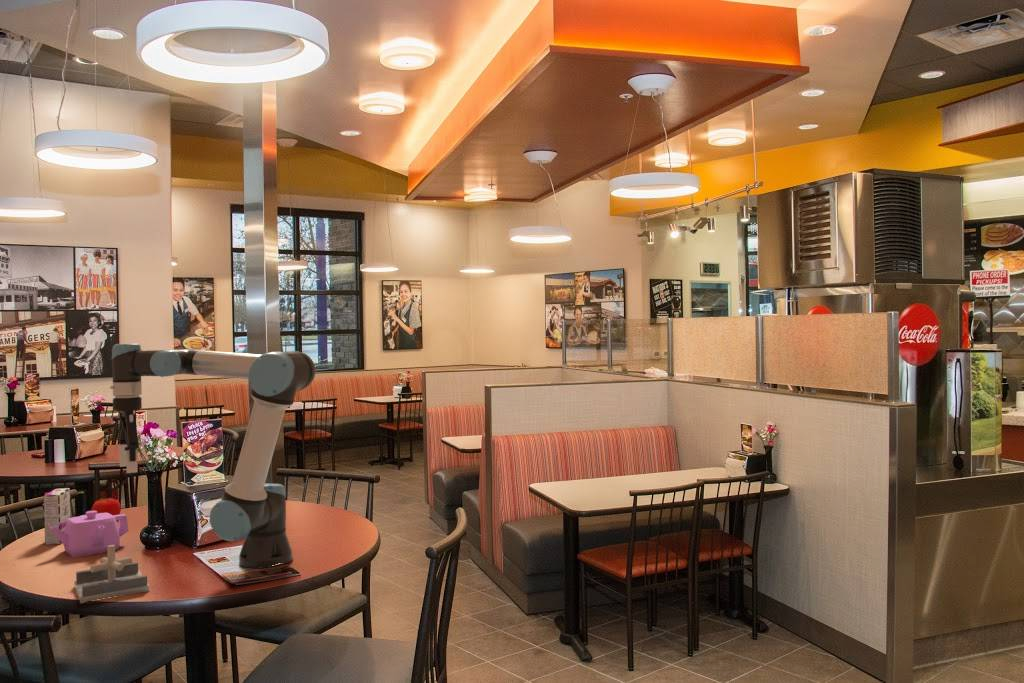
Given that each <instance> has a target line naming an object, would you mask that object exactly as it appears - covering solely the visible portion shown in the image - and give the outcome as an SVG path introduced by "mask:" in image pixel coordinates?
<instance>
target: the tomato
mask: <svg viewBox="0 0 1024 683" xmlns="http://www.w3.org/2000/svg"><path fill="white" fill-rule="evenodd" d="M121 506H122V505H121V503H120V501H119V500H118V499H115V498H113V497H112V496H111V497H109V498H106V497H104V498H100V499H98V500H96V501H95V502H94V504H92V506H91V510H90V511H97V514H98V513H109V514H111V515H121V510H122V507H121Z"/></svg>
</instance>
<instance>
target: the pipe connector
mask: <svg viewBox="0 0 1024 683" xmlns="http://www.w3.org/2000/svg"><path fill="white" fill-rule="evenodd" d="M106 553H107V557H102V558H100V560H99V562H100V563H97V564H93V565H90V566H89V567H90V569H89V570H91V572H96V571H101V570H105V569H108V581H113V580H116V571H115V570H118V571H121V570H122V569H123V568H124V566H123V565H126V564H130V563H133V559H132V558H133V557H131V556H128V557H123V558H119V559H116V550H115V545H109V546H107V552H106Z"/></svg>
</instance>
